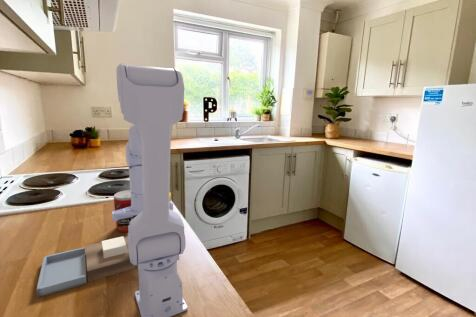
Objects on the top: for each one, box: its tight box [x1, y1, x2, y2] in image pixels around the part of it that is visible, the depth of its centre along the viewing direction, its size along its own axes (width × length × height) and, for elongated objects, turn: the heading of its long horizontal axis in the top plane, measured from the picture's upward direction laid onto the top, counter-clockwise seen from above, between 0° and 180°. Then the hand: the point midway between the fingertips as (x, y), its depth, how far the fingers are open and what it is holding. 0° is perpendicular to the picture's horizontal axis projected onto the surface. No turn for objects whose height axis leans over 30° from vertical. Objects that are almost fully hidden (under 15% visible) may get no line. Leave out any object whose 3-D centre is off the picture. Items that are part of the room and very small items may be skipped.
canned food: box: [113, 189, 133, 233], centre depth 80 cm, size 8×8×11 cm
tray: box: [36, 246, 88, 298], centre depth 58 cm, size 13×8×2 cm, turn 31°
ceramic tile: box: [101, 235, 127, 258], centre depth 63 cm, size 5×5×2 cm
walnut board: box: [85, 235, 138, 282], centre depth 63 cm, size 12×10×2 cm
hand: (145, 240), depth 67 cm, fingers closed
